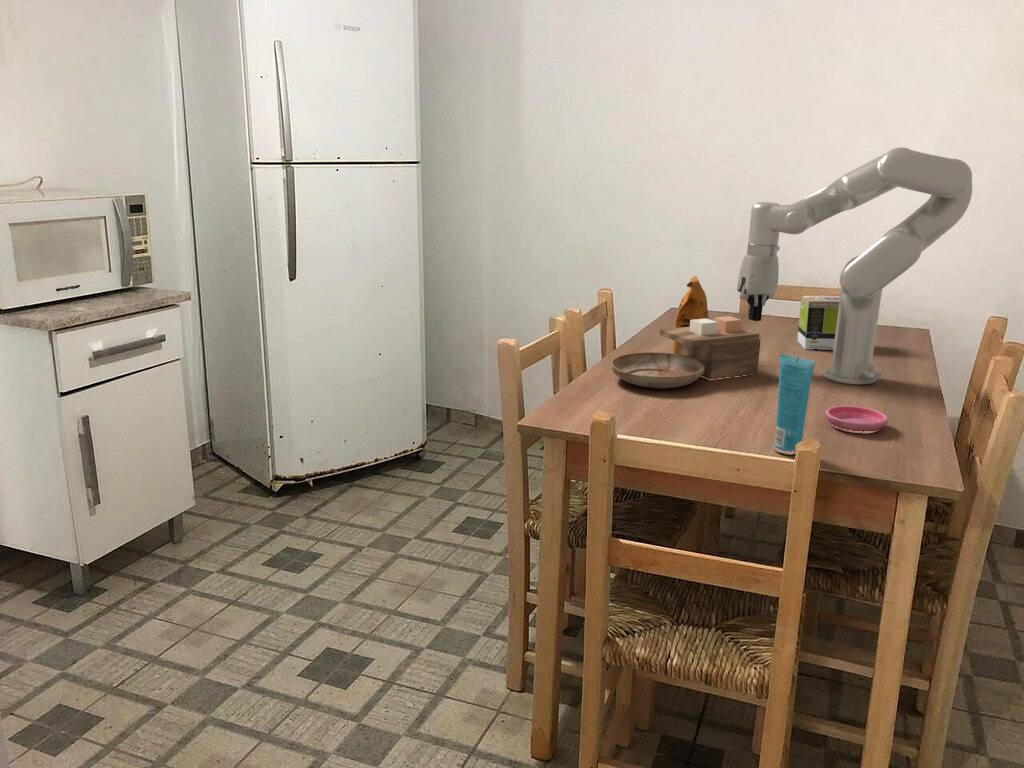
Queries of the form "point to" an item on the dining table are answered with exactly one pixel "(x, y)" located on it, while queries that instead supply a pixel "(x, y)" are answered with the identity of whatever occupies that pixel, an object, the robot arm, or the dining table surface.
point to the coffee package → (691, 308)
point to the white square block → (703, 326)
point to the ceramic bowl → (657, 369)
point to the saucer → (856, 418)
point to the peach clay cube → (728, 324)
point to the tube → (792, 400)
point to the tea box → (818, 322)
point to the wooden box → (719, 351)
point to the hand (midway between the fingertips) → (754, 319)
